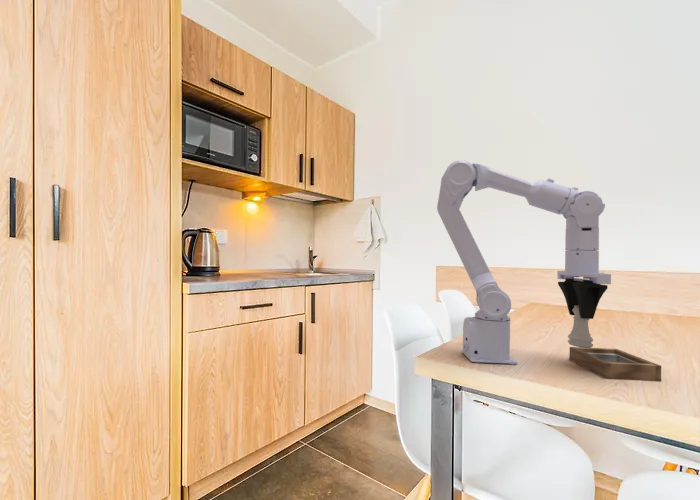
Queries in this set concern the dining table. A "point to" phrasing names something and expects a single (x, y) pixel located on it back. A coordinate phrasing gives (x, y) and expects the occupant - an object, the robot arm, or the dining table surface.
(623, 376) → the box
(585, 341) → the rook chess piece
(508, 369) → the dining table surface
